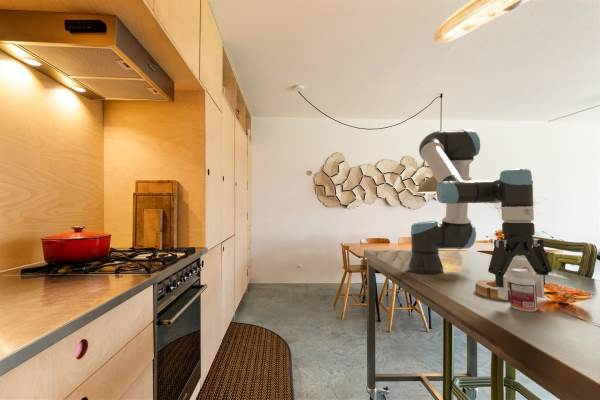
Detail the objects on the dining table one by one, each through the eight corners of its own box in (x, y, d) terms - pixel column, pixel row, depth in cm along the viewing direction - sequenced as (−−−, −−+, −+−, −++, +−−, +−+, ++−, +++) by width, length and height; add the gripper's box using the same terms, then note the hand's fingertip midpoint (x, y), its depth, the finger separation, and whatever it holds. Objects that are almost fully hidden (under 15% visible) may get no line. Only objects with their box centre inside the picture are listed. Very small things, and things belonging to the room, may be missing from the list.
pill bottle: (517, 303, 85) (515, 267, 86) (542, 310, 80) (540, 271, 80) (505, 307, 83) (503, 269, 83) (530, 313, 77) (528, 273, 78)
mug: (526, 285, 106) (525, 255, 106) (542, 292, 97) (540, 259, 97) (491, 284, 108) (489, 255, 108) (503, 290, 99) (502, 259, 99)
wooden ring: (467, 289, 101) (466, 280, 102) (502, 287, 103) (502, 279, 103) (498, 301, 87) (498, 291, 88) (539, 299, 89) (538, 290, 89)
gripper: (491, 222, 78) (494, 303, 77) (566, 221, 80) (570, 299, 79) (471, 221, 85) (474, 295, 84) (541, 220, 88) (544, 292, 87)
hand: (521, 297), depth 82 cm, fingers open, 11 cm apart
